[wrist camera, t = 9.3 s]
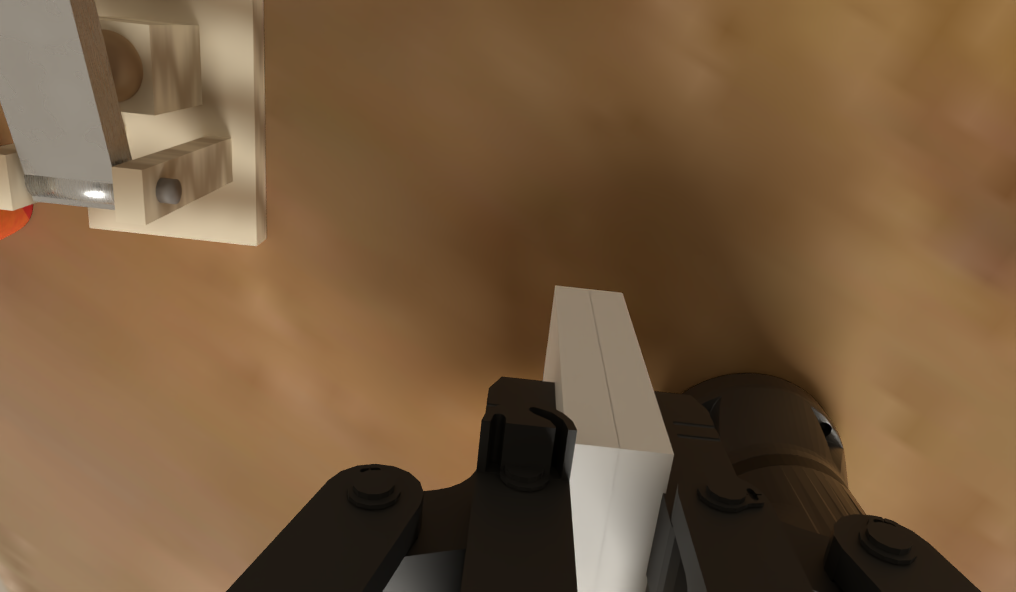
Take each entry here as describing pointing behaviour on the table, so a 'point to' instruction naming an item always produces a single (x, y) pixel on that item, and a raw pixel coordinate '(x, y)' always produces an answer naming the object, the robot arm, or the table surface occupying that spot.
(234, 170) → the press base
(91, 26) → the lever
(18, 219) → the paper cup
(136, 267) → the table surface
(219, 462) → the table surface
